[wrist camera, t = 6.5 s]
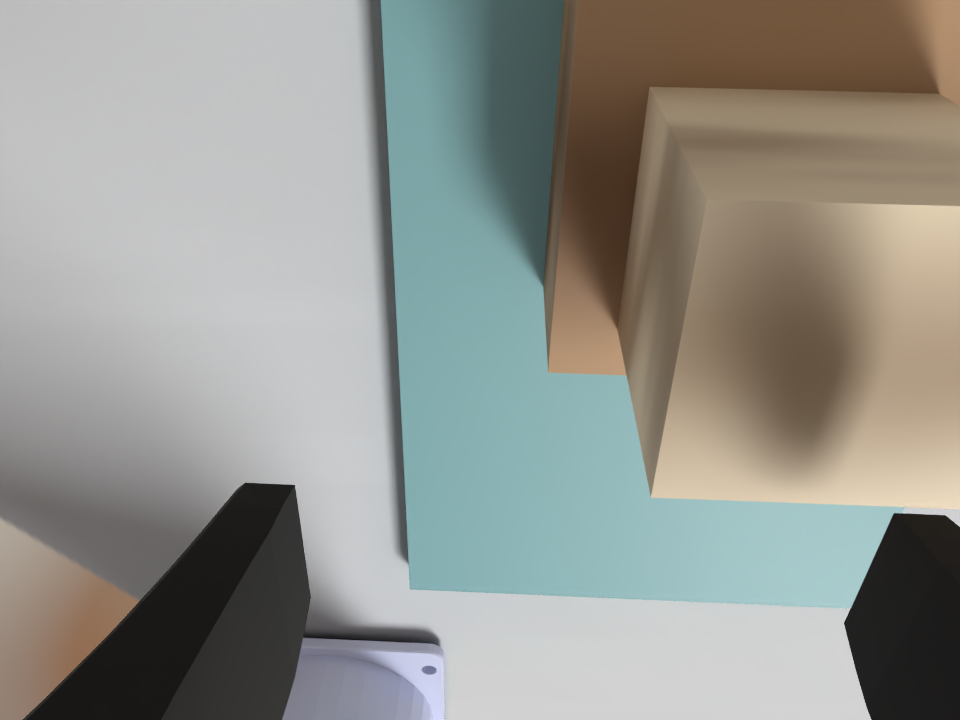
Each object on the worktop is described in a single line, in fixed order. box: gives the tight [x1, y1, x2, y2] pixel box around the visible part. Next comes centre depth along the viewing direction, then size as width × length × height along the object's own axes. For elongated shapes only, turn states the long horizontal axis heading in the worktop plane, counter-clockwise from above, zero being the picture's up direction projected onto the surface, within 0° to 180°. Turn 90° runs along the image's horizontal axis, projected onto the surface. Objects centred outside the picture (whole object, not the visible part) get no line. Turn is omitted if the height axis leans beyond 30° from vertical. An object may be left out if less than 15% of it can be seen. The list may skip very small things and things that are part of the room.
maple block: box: [617, 87, 960, 509], centre depth 12 cm, size 4×4×4 cm
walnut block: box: [543, 0, 960, 376], centre depth 15 cm, size 7×7×4 cm
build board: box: [381, 0, 904, 609], centre depth 19 cm, size 19×14×1 cm
